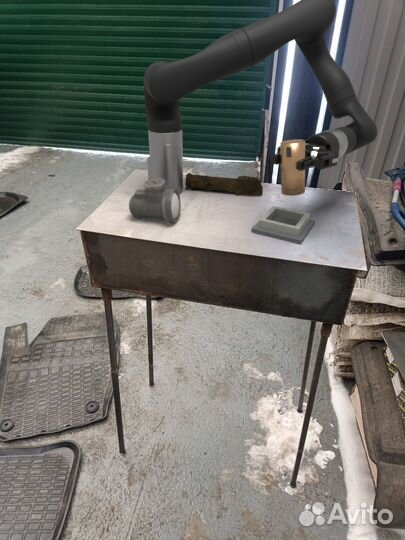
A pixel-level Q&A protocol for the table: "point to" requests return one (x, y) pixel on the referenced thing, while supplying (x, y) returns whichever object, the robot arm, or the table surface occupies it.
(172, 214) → the pipe fitting
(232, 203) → the table surface
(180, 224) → the table surface
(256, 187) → the hand tool
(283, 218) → the duct flange
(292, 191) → the copper cylinder
